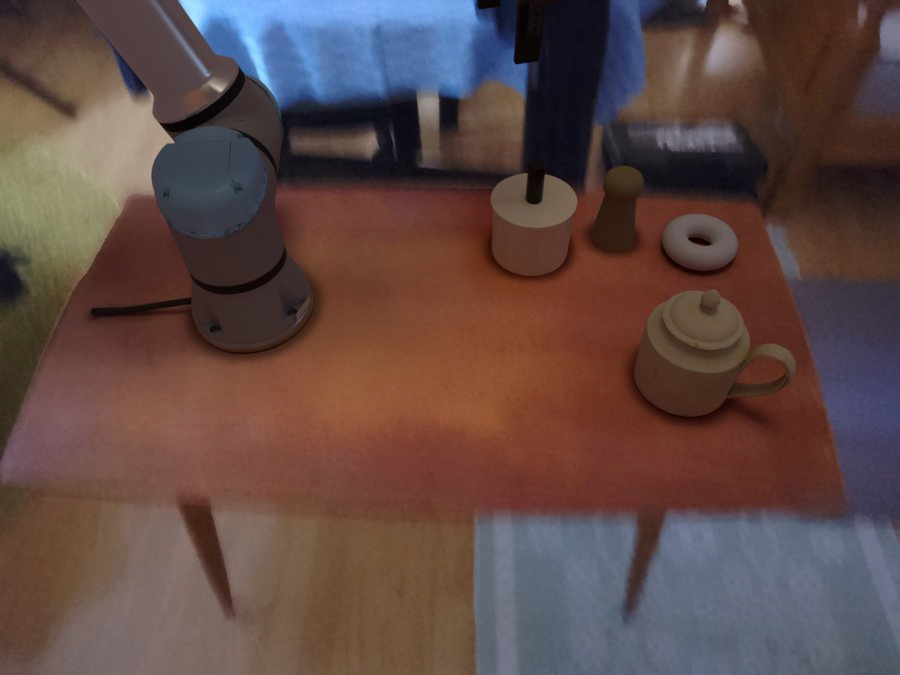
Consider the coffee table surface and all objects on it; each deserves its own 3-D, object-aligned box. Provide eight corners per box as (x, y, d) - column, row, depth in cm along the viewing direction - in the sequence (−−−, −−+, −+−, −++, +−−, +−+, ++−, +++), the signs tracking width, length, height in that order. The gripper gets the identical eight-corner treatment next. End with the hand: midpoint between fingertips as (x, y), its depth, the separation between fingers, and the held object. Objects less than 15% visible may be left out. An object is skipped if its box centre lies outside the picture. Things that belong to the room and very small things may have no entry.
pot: (506, 283, 91) (508, 235, 85) (482, 233, 98) (483, 185, 91) (578, 267, 93) (586, 219, 86) (550, 219, 99) (556, 171, 93)
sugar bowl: (756, 350, 83) (802, 260, 71) (769, 427, 76) (823, 341, 64) (631, 338, 84) (657, 248, 73) (633, 412, 78) (662, 325, 66)
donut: (666, 277, 91) (742, 275, 91) (672, 258, 89) (750, 257, 88) (653, 227, 98) (724, 226, 97) (658, 208, 95) (731, 207, 95)
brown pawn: (609, 257, 94) (623, 193, 85) (581, 233, 97) (592, 169, 89) (642, 241, 96) (659, 176, 87) (614, 217, 99) (627, 153, 91)
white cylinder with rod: (506, 241, 85) (509, 199, 80) (479, 188, 92) (480, 146, 87) (590, 224, 87) (597, 181, 82) (557, 173, 94) (562, 130, 89)
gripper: (616, -163, 55) (578, 82, 71) (515, -231, 70) (503, -17, 87) (527, -156, 54) (510, 93, 70) (445, -226, 69) (446, -10, 85)
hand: (506, 33), depth 78 cm, fingers open, 13 cm apart
